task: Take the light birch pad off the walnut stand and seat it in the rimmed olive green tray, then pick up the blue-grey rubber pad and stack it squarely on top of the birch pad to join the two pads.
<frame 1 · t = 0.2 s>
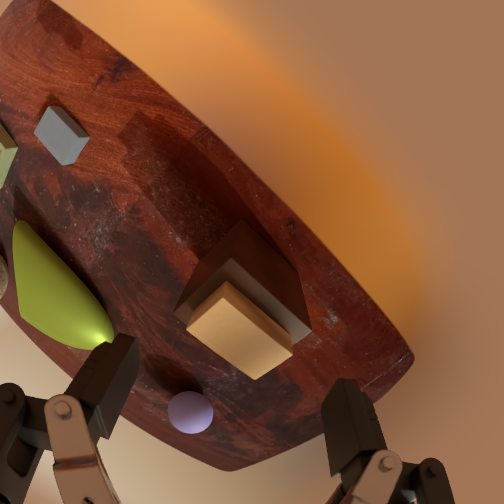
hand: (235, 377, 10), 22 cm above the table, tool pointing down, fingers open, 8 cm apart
decorative object: (4, 264, 34), on the table
sphere: (194, 395, 41), on the table
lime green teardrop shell: (69, 285, 35), on the table
rubber pad: (66, 134, 27), on the table
birch pad: (242, 323, 22), point 11 cm above the table, touching stand
stand: (248, 266, 32), on the table
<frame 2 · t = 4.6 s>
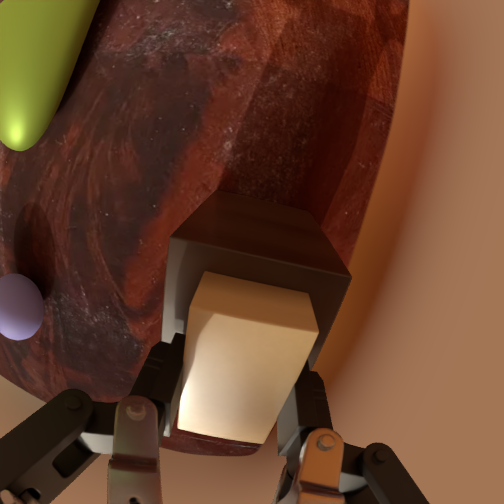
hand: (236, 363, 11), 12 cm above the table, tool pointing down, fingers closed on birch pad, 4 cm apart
sphere: (34, 290, 25), on the table
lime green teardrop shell: (61, 45, 16), on the table
birch pad: (238, 351, 12), point 11 cm above the table, touching gripper, stand
stand: (249, 256, 22), on the table
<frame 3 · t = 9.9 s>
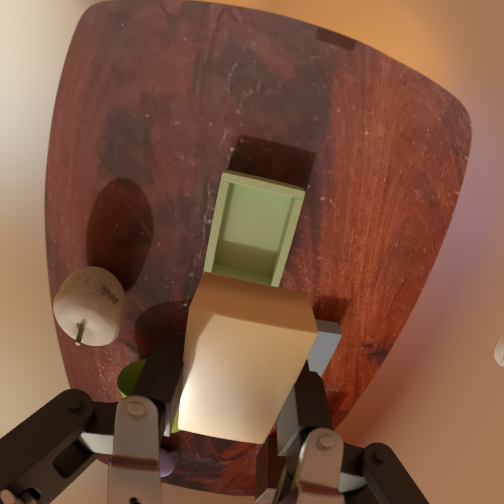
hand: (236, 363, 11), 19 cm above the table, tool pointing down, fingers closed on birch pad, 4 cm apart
decorative object: (109, 287, 33), on the table
sphere: (161, 448, 47), on the table
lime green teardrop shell: (171, 377, 38), on the table
rubber pad: (313, 342, 34), on the table
birch pad: (238, 351, 12), point 19 cm above the table, touching gripper
olive green tray: (252, 228, 29), on the table
stand: (279, 448, 44), on the table
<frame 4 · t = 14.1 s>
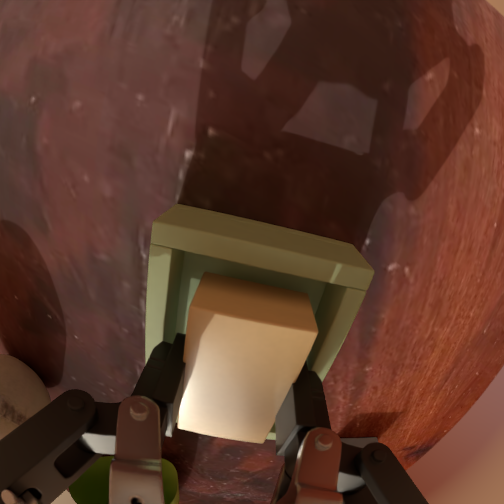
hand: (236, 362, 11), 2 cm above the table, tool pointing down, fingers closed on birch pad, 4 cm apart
decorative object: (34, 375, 17), on the table
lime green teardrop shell: (139, 473, 22), on the table
birch pad: (238, 351, 12), point 2 cm above the table, touching gripper
olive green tray: (240, 327, 13), on the table
when the fingers open (3 cm above the table, at t = 16.2 s): birch pad stays where it is, resting on olive green tray.
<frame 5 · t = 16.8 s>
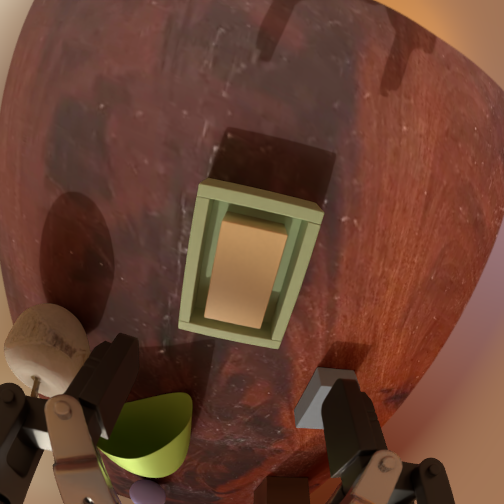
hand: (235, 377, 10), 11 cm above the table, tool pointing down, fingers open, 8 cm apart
decorative object: (72, 324, 24), on the table
sphere: (151, 480, 39), on the table
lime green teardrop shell: (154, 421, 29), on the table
rubber pad: (322, 391, 26), on the table
birch pad: (244, 263, 20), point 1 cm above the table, touching olive green tray
olive green tray: (245, 260, 21), on the table
stand: (279, 485, 36), on the table
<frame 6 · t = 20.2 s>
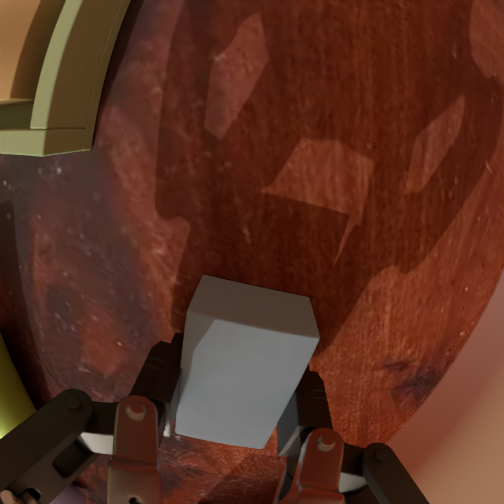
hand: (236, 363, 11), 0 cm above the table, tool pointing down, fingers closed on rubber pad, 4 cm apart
sphere: (70, 481, 24), on the table
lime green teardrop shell: (14, 387, 15), on the table
rubber pad: (238, 355, 12), on the table, touching gripper
birch pad: (44, 27, 6), point 1 cm above the table, touching olive green tray
olive green tray: (53, 29, 7), on the table
when the fingers open (4 cm above the table, at t = 25.6 s): rubber pad stays where it is, resting on birch pad.
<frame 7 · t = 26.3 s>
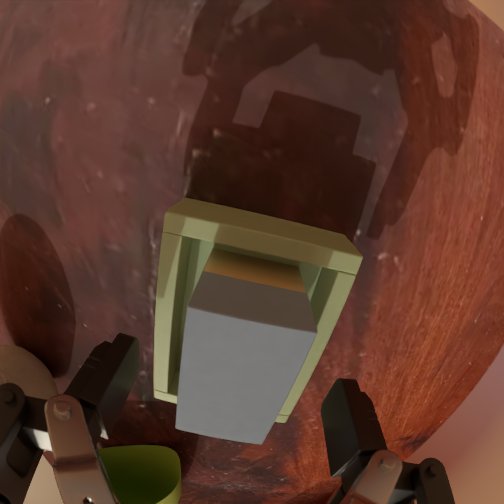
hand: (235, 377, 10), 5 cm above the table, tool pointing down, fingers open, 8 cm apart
decorative object: (41, 366, 18), on the table
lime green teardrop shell: (142, 464, 23), on the table
rubber pad: (237, 351, 12), point 3 cm above the table, touching birch pad
birch pad: (240, 319, 14), point 1 cm above the table, touching olive green tray, rubber pad
olive green tray: (241, 313, 15), on the table
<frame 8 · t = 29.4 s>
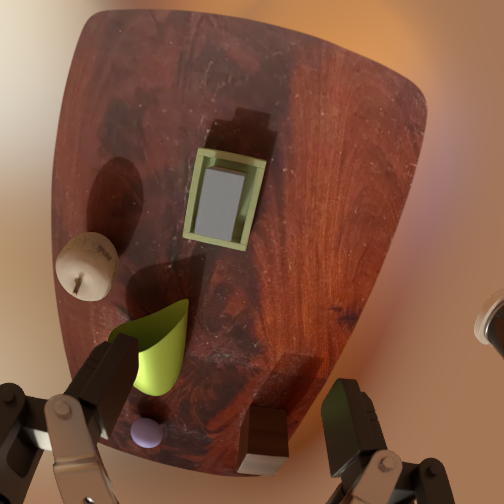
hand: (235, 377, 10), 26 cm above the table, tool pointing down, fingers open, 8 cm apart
decorative object: (105, 252, 37), on the table
sphere: (150, 420, 52), on the table
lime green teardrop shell: (158, 339, 43), on the table
rubber pad: (221, 200, 31), point 3 cm above the table, touching birch pad
olive green tray: (225, 196, 34), on the table
stand: (262, 420, 49), on the table
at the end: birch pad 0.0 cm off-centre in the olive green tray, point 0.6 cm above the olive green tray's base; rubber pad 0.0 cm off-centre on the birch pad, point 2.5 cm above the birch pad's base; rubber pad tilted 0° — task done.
